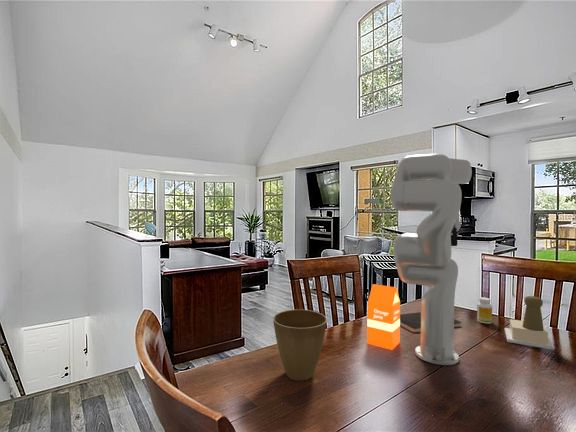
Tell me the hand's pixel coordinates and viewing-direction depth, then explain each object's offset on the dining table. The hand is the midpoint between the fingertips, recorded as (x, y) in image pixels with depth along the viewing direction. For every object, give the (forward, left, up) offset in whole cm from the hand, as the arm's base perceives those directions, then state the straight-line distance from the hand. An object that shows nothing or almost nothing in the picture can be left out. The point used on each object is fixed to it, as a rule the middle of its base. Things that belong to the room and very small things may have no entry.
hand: (444, 244), depth 124 cm
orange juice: (-22, +17, -34) cm, 44 cm away
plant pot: (-56, +32, -34) cm, 73 cm away
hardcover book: (+8, +8, -34) cm, 36 cm away
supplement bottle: (+22, -14, -34) cm, 42 cm away
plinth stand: (+8, -27, -33) cm, 44 cm away
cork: (+6, -28, -28) cm, 40 cm away
